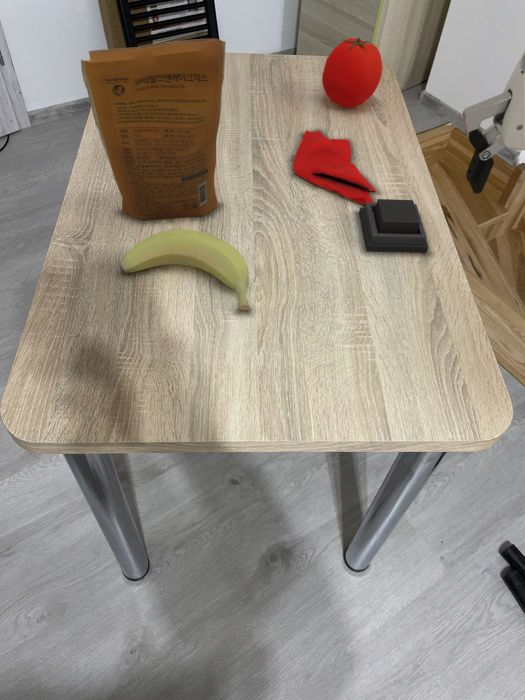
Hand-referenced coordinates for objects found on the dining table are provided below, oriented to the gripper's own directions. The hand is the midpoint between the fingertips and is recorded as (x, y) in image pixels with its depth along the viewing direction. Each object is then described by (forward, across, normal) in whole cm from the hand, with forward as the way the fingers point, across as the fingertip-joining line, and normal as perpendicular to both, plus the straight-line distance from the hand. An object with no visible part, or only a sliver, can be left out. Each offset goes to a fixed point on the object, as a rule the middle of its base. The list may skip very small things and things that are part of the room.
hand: (516, 187), depth 59 cm
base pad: (+24, -5, +22) cm, 33 cm away
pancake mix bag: (+24, -42, +25) cm, 55 cm away
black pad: (+23, -5, +22) cm, 32 cm away
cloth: (+24, -14, +40) cm, 48 cm away
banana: (+24, -37, +9) cm, 45 cm away
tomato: (+24, -8, +64) cm, 69 cm away
